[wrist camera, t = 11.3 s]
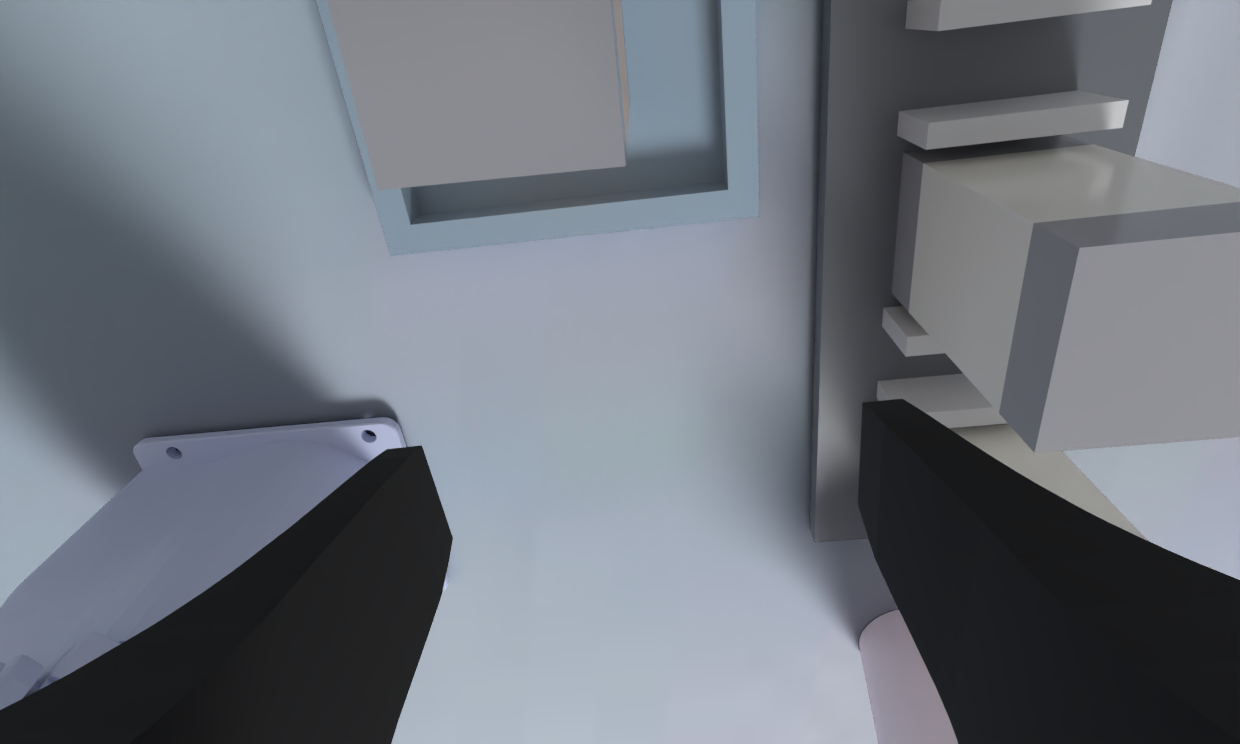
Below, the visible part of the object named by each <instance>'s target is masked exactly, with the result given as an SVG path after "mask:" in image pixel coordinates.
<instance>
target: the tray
mask: <svg viewBox="0 0 1240 744" xmlns="http://www.w3.org/2000/svg"><path fill="white" fill-rule="evenodd" d="M316 3H317V6H318V10H319V13H320V16H321V20H322V23H323V27H324V30H325V34H326V37H327V40H328V44H329V47H330V51H331V54H332V58H333V61H334V64H335V68H336V71H337V75H338V78H339V82H340V85H341V89H342V92H343V95H344V99H345V102H346V106H347V109H348V113H349V116H350V119H351V123H352V126H353V130H354V133H355V137H356V140H357V143H358V147H359V150H360V154H361V157H362V161H363V164H364V168H365V171H366V174H367V178H368V181H369V185H370V188H371V192H372V195H373V198H374V202H375V205H376V209H377V212H378V216H379V219H380V222H381V226H382V229H383V233H384V236H385V240H386V243H387V247H388V250H389V253H390V256H395V255H404V254H413V253H423V252H432V251H441V250H451V249H460V248H469V247H479V246H488V245H497V244H507V243H516V242H526V241H535V240H544V239H554V238H563V237H572V236H582V235H591V234H600V233H610V232H619V231H628V230H638V229H647V228H656V227H666V226H675V225H685V224H694V223H703V222H713V221H722V220H731V219H741V218H750V217H759V160H758V99H757V38H756V0H622V12H623V23H624V35H625V47H626V58H627V70H628V82H629V93H630V114H629V128H628V142H627V156H626V166H623V167H613V168H603V169H592V170H582V171H572V172H561V173H551V174H541V175H530V176H520V177H510V178H499V179H489V180H479V181H468V182H458V183H448V184H437V185H427V186H417V187H407V188H396V189H386V190H378V188H377V184H376V181H375V177H374V173H373V170H372V166H371V162H370V158H369V155H368V151H367V147H366V144H365V140H364V136H363V133H362V129H361V125H360V121H359V118H358V114H357V110H356V107H355V103H354V99H353V95H352V92H351V88H350V84H349V81H348V77H347V73H346V69H345V66H344V62H343V58H342V55H341V51H340V47H339V44H338V40H337V36H336V32H335V29H334V25H333V21H332V18H331V14H330V10H329V6H328V3H327V0H316Z"/></svg>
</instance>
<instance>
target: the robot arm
mask: <svg viewBox="0 0 1240 744" xmlns="http://www.w3.org/2000/svg"><path fill="white" fill-rule="evenodd" d="M365 430H371V431H372V432H374V433H375V435H376V436H370V435H369V434H367V432H366V431H365ZM174 447H175V448H177V449H179V450H180V452H179V451H177V450H176V449H175V448H174ZM133 453H134V456H135V458H136V460H137V461H138V463H139V465H140V467H141V469H142V471H141V472H140V473H139V474H137V475H136V476H135V477H134V478H133V479H132V480H131V481H130V482H129V483H128V484H127V485H126V486H125V487H124V488H122V489H121V490H120V491H119V492H118V493H117V494H116V495H115V496H114V497H113V498H112V499H111V500H110V501H109V502H108V503H106V504H105V505H104V506H103V507H102V508H101V509H100V510H99V511H98V512H97V513H96V514H95V515H94V516H93V517H91V518H90V519H89V520H88V521H87V522H86V523H85V524H84V525H83V526H82V527H81V528H80V529H79V530H78V531H76V532H75V533H74V534H73V535H72V536H71V537H70V538H69V539H68V540H67V541H66V542H65V543H64V544H63V545H61V546H60V547H59V548H58V549H57V550H56V551H55V552H54V553H53V554H52V555H51V556H50V557H49V558H48V559H46V560H45V561H44V562H43V563H42V564H41V565H40V566H39V567H38V568H37V569H36V570H35V571H34V572H33V573H31V574H30V575H29V576H28V577H27V578H26V579H25V580H24V581H23V582H22V583H21V584H20V585H19V586H18V587H17V588H16V589H15V590H14V592H13V593H12V594H11V595H10V596H9V597H8V598H7V600H6V601H5V603H4V604H3V605H2V607H1V608H0V744H391V742H392V739H393V736H394V732H395V729H396V726H397V723H398V719H399V717H400V714H401V711H402V708H403V705H404V702H405V699H406V697H407V694H408V691H409V688H410V685H411V682H412V679H413V677H414V674H415V671H416V668H417V665H418V662H419V659H420V657H421V654H422V651H423V648H424V645H425V642H426V639H427V637H428V634H429V631H430V628H431V625H432V622H433V619H434V616H435V613H436V610H437V607H438V604H439V601H440V598H441V595H442V591H444V590H445V589H446V587H447V585H448V582H449V576H448V573H447V567H448V562H449V556H450V551H451V545H452V540H453V538H452V535H451V532H450V529H449V526H448V523H447V520H446V517H445V514H444V511H443V508H442V505H441V502H440V499H439V496H438V493H437V490H436V487H435V484H434V481H433V478H432V475H431V472H430V469H429V466H428V463H427V460H426V457H425V454H424V451H423V448H422V446H414V447H406V444H405V441H404V438H403V435H402V432H401V429H400V427H399V425H398V423H396V422H395V421H394V420H392V419H390V418H386V417H379V418H368V419H356V420H345V421H334V422H323V423H311V424H300V425H289V426H277V427H266V428H255V429H243V430H232V431H221V432H209V433H198V434H187V435H175V436H164V437H153V438H145V439H142V440H141V441H140V442H139V443H138V444H136V445H135V446H134V448H133ZM858 506H859V510H860V513H861V516H862V519H863V522H864V526H865V529H866V532H867V535H868V538H869V541H870V544H871V547H872V550H873V553H874V556H875V559H876V562H877V564H878V566H879V568H880V570H881V572H882V575H883V577H884V579H885V581H886V583H887V585H888V587H889V590H890V592H891V594H892V596H893V598H894V600H895V602H896V605H897V607H898V609H899V611H900V613H901V615H902V617H903V619H904V621H905V623H906V626H907V628H908V630H909V632H910V634H911V636H912V638H913V640H914V642H915V644H916V647H917V649H918V651H919V653H920V655H921V657H922V659H923V661H924V663H925V665H926V668H927V670H928V672H929V674H930V676H931V678H932V680H933V682H934V684H935V686H936V689H937V691H938V693H939V696H940V698H941V700H942V703H943V705H944V707H945V710H946V712H947V714H948V717H949V719H950V722H951V725H952V727H953V730H954V733H955V736H956V739H957V741H958V744H1240V580H1238V579H1236V578H1233V577H1231V576H1228V575H1226V574H1223V573H1221V572H1218V571H1216V570H1213V569H1211V568H1208V567H1206V566H1203V565H1201V564H1198V563H1196V562H1194V561H1191V560H1189V559H1187V558H1184V557H1182V556H1180V555H1178V554H1175V553H1173V552H1171V551H1168V550H1166V549H1164V548H1162V547H1159V546H1157V545H1155V544H1153V543H1151V542H1149V541H1147V540H1145V539H1143V538H1141V537H1138V536H1136V535H1134V534H1132V533H1130V532H1128V531H1126V530H1124V529H1122V528H1120V527H1117V526H1115V525H1113V524H1111V523H1109V522H1107V521H1105V520H1103V519H1101V518H1099V517H1097V516H1095V515H1093V514H1091V513H1089V512H1087V511H1085V510H1084V509H1082V508H1080V507H1078V506H1076V505H1074V504H1073V503H1071V502H1069V501H1067V500H1065V499H1064V498H1062V497H1060V496H1058V495H1056V494H1055V493H1053V492H1051V491H1049V490H1047V489H1046V488H1044V487H1042V486H1040V485H1038V484H1037V483H1035V482H1033V481H1032V480H1030V479H1028V478H1027V477H1025V476H1023V475H1021V474H1020V473H1018V472H1016V471H1015V470H1013V469H1011V468H1010V467H1008V466H1007V465H1005V464H1003V463H1002V462H1000V461H998V460H997V459H995V458H994V457H992V456H991V455H989V454H987V453H986V452H984V451H983V450H981V449H980V448H978V447H976V446H975V445H973V444H972V443H970V442H969V441H967V440H966V439H964V438H963V437H961V436H960V435H958V434H957V433H955V432H954V431H952V430H950V429H949V428H947V427H946V426H944V425H943V424H941V423H940V422H938V421H937V420H935V419H934V418H932V417H931V416H929V415H928V414H926V413H925V412H923V411H922V410H920V409H919V408H917V407H915V406H914V405H912V404H911V403H909V402H907V401H906V400H904V399H893V400H883V401H873V402H862V423H861V445H860V466H859V487H858Z"/></svg>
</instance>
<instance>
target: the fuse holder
mask: <svg viewBox="0 0 1240 744" xmlns="http://www.w3.org/2000/svg"><path fill="white" fill-rule="evenodd" d="M1171 5H1172V0H823V28H822V67H821V106H820V145H819V184H818V223H817V262H816V301H815V340H814V379H813V418H812V457H811V496H810V529H811V532H812V535H813V538H814V541H815V542H823V541H837V540H852V539H866V538H868V535H867V532H866V529H865V526H864V522H863V519H862V516H861V513H860V510H859V506H858V487H859V466H860V445H861V423H862V402H873V401H883V400H893V399H904V400H906V401H907V402H909V403H911V404H912V405H914V406H915V407H917V408H919V409H920V410H922V411H923V412H925V413H926V414H928V415H929V416H931V417H932V418H934V419H935V420H937V421H938V422H940V423H941V424H943V425H944V426H946V427H947V428H958V427H971V426H983V425H995V424H1007V422H1006V421H1005V419H1004V418H1003V417H1002V416H1001V415H1000V414H999V413H998V412H997V411H996V409H995V408H994V407H993V406H992V405H991V404H990V403H989V402H988V400H987V399H986V398H985V397H984V396H983V395H982V394H981V393H980V391H979V390H978V389H977V388H976V387H975V386H974V385H973V384H972V383H971V381H970V380H969V379H968V378H967V377H966V376H965V375H964V374H963V372H962V371H961V370H960V369H959V368H958V367H957V366H956V365H955V363H954V362H953V361H952V360H951V359H950V358H949V357H948V356H947V355H946V353H945V352H944V351H943V350H942V349H941V348H940V347H939V346H938V344H937V343H936V342H935V341H934V340H933V339H932V338H931V337H930V335H929V334H928V333H927V332H926V331H925V330H924V329H923V328H922V327H921V325H920V324H919V323H918V322H917V321H916V320H915V319H914V318H913V316H912V315H911V314H910V313H909V312H908V311H907V310H906V309H905V308H904V306H903V305H902V304H901V303H900V302H899V301H898V300H897V299H896V297H895V296H894V295H893V294H892V282H893V270H894V258H895V246H896V234H897V222H898V210H899V198H900V186H901V174H902V162H903V152H911V151H920V150H929V149H938V148H947V147H956V146H965V145H974V144H982V143H991V142H1000V141H1009V140H1018V139H1027V138H1036V137H1045V136H1054V135H1064V136H1067V137H1070V138H1074V139H1077V140H1081V141H1084V142H1087V143H1091V144H1094V145H1097V146H1101V147H1104V148H1107V149H1111V150H1114V151H1117V152H1121V153H1124V154H1127V155H1131V156H1135V152H1136V148H1137V144H1138V140H1139V136H1140V132H1141V128H1142V124H1143V119H1144V115H1145V111H1146V107H1147V103H1148V99H1149V95H1150V91H1151V87H1152V83H1153V78H1154V74H1155V70H1156V66H1157V62H1158V58H1159V54H1160V50H1161V46H1162V41H1163V37H1164V33H1165V29H1166V25H1167V21H1168V17H1169V13H1170V9H1171ZM1062 452H1063V451H1062Z"/></svg>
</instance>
